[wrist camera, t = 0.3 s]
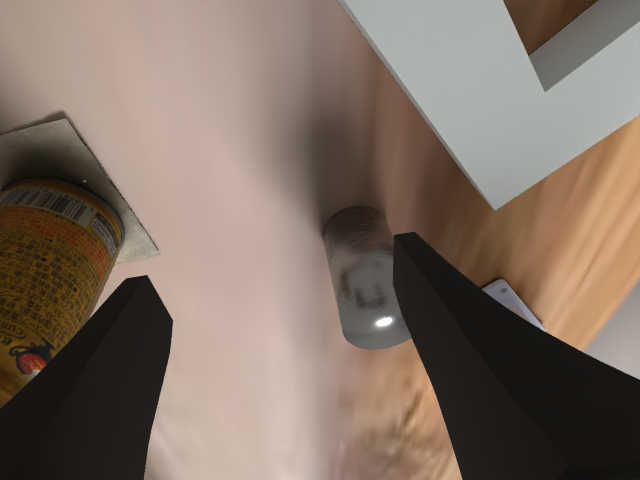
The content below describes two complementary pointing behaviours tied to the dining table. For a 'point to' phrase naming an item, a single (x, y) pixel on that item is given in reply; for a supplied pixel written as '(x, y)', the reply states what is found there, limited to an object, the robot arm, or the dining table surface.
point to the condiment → (54, 245)
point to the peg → (364, 278)
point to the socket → (508, 82)
